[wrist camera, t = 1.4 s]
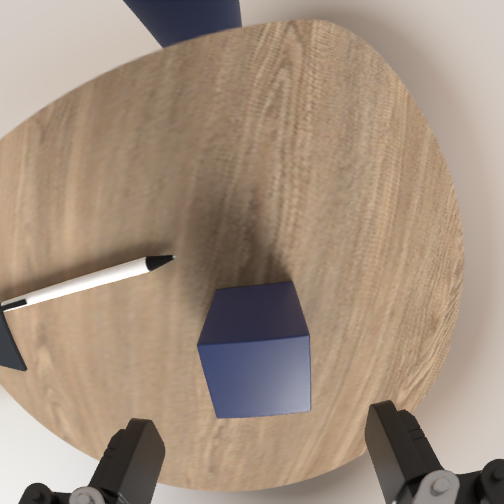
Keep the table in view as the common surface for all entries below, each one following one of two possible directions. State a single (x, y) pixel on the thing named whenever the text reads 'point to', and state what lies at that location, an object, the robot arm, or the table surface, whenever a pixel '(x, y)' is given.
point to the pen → (88, 281)
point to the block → (256, 352)
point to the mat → (9, 348)
